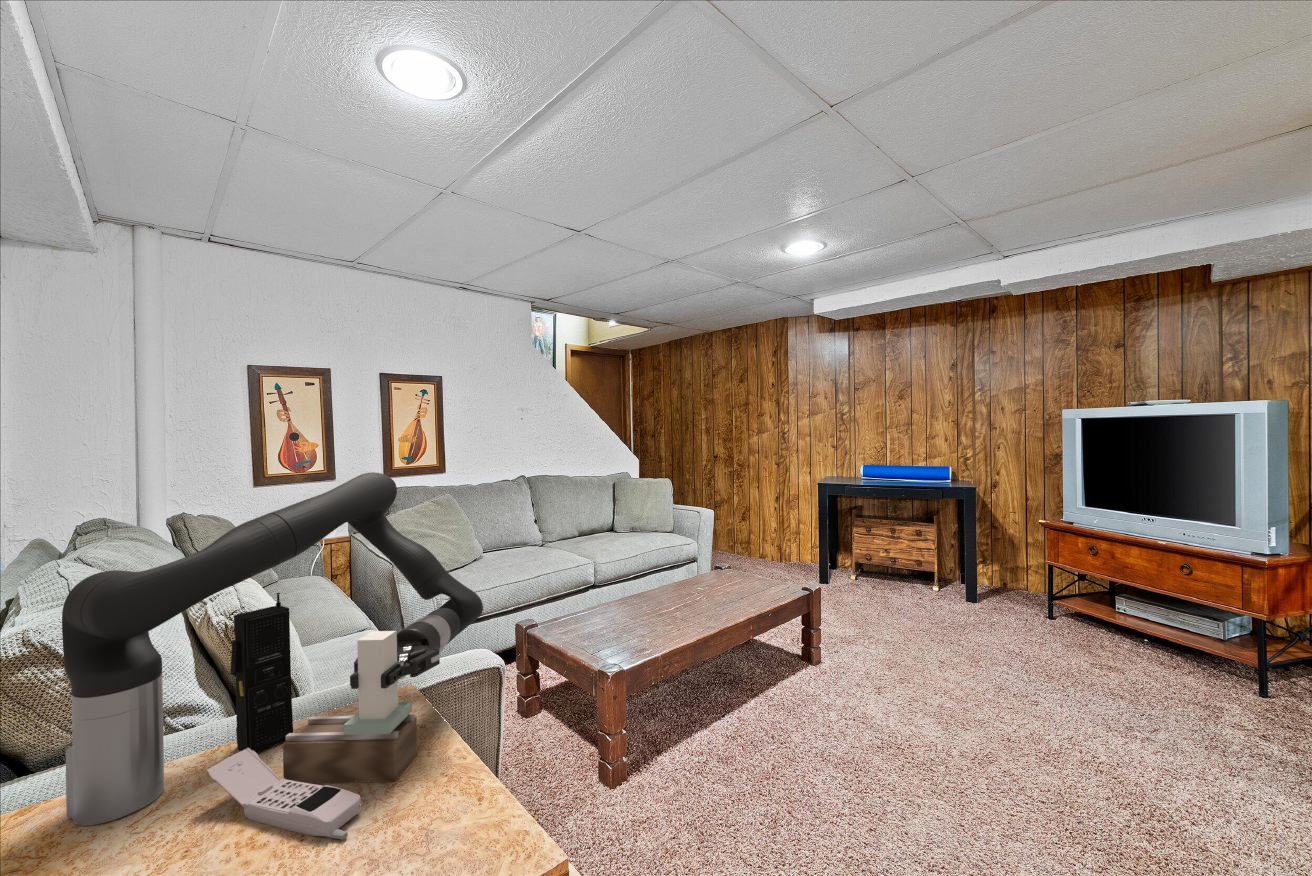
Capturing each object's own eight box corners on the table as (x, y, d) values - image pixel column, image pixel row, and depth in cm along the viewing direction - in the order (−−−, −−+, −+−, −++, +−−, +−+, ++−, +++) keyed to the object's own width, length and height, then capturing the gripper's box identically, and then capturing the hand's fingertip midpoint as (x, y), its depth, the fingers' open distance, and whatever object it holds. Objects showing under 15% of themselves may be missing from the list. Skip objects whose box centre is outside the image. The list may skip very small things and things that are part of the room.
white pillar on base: (343, 734, 80) (341, 644, 80) (370, 711, 87) (368, 628, 87) (389, 733, 79) (387, 642, 80) (412, 710, 86) (410, 627, 87)
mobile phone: (246, 746, 80) (375, 771, 72) (248, 785, 80) (377, 815, 72) (201, 770, 74) (335, 800, 66) (203, 812, 74) (337, 848, 66)
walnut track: (283, 783, 80) (282, 737, 80) (315, 756, 87) (314, 714, 87) (394, 781, 79) (393, 735, 79) (417, 754, 86) (416, 712, 86)
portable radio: (241, 761, 86) (238, 606, 87) (227, 751, 89) (224, 602, 90) (295, 738, 93) (292, 594, 93) (280, 729, 96) (277, 590, 96)
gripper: (383, 621, 98) (321, 658, 81) (459, 619, 97) (413, 656, 80) (384, 662, 98) (322, 708, 80) (460, 660, 97) (415, 706, 80)
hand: (368, 682), depth 80 cm, fingers closed on white pillar on base, 4 cm apart
